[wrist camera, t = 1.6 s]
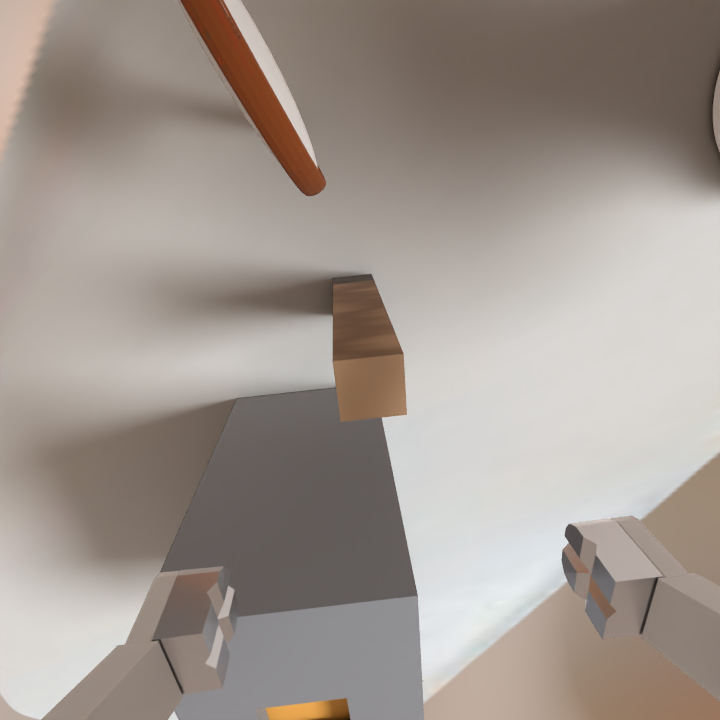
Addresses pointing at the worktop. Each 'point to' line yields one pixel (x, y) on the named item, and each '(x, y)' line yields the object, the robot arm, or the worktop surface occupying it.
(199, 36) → the magnifying glass
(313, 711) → the button
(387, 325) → the long brown rectangular block
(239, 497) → the grey tissue box
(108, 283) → the worktop surface
